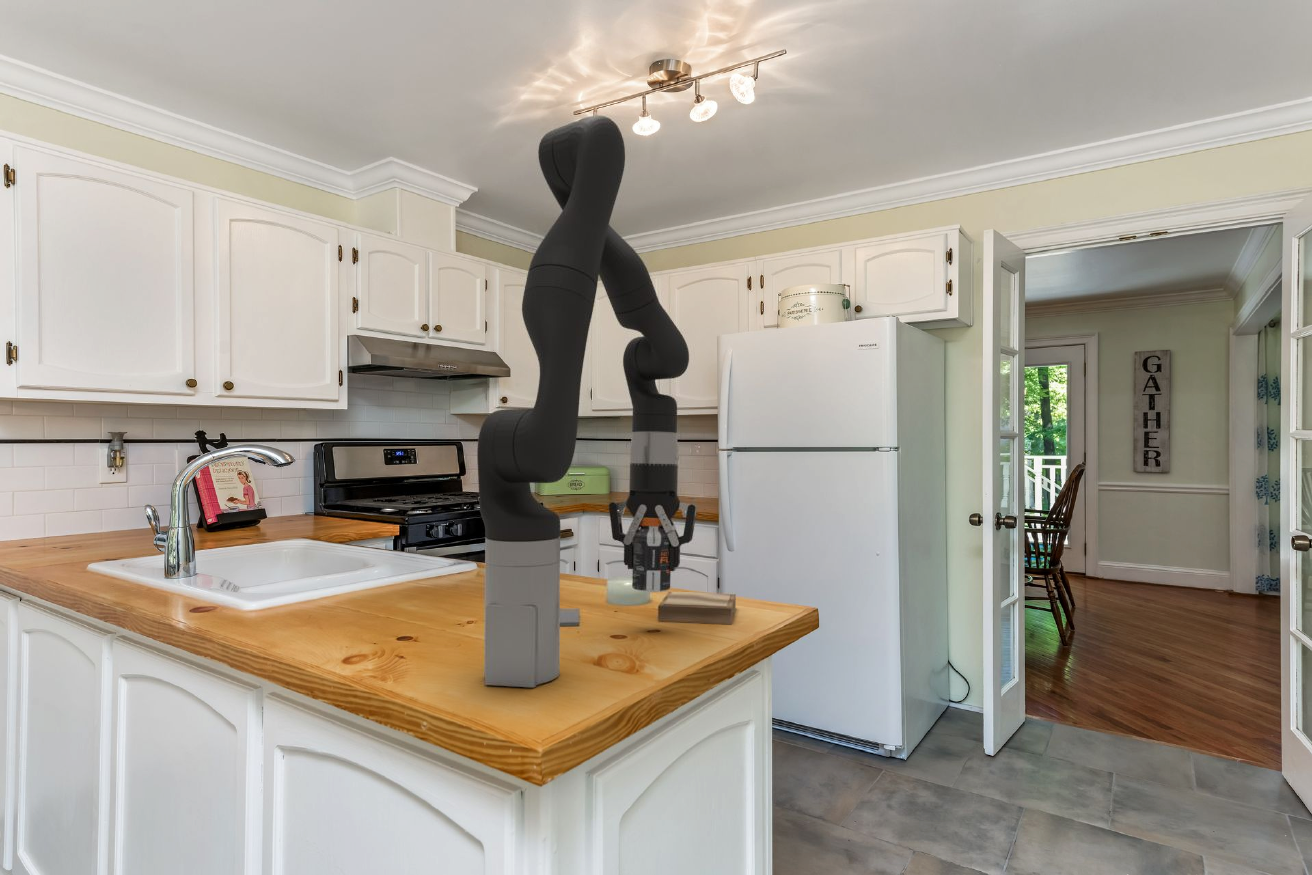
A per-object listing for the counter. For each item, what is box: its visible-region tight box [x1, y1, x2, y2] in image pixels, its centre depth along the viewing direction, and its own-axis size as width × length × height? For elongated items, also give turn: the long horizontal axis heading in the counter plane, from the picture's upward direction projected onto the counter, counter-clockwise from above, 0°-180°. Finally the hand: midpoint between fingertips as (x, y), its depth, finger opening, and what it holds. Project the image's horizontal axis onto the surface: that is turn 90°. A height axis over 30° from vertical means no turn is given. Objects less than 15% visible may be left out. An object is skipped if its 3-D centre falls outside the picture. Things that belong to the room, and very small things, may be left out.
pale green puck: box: [606, 576, 651, 607], centre depth 138 cm, size 8×8×4 cm
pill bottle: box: [631, 517, 672, 593], centre depth 116 cm, size 6×6×11 cm
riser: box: [657, 591, 737, 625], centre depth 127 cm, size 12×12×3 cm
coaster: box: [560, 608, 580, 627], centre depth 123 cm, size 10×10×1 cm
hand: (651, 569), depth 116 cm, fingers closed on pill bottle, 6 cm apart
